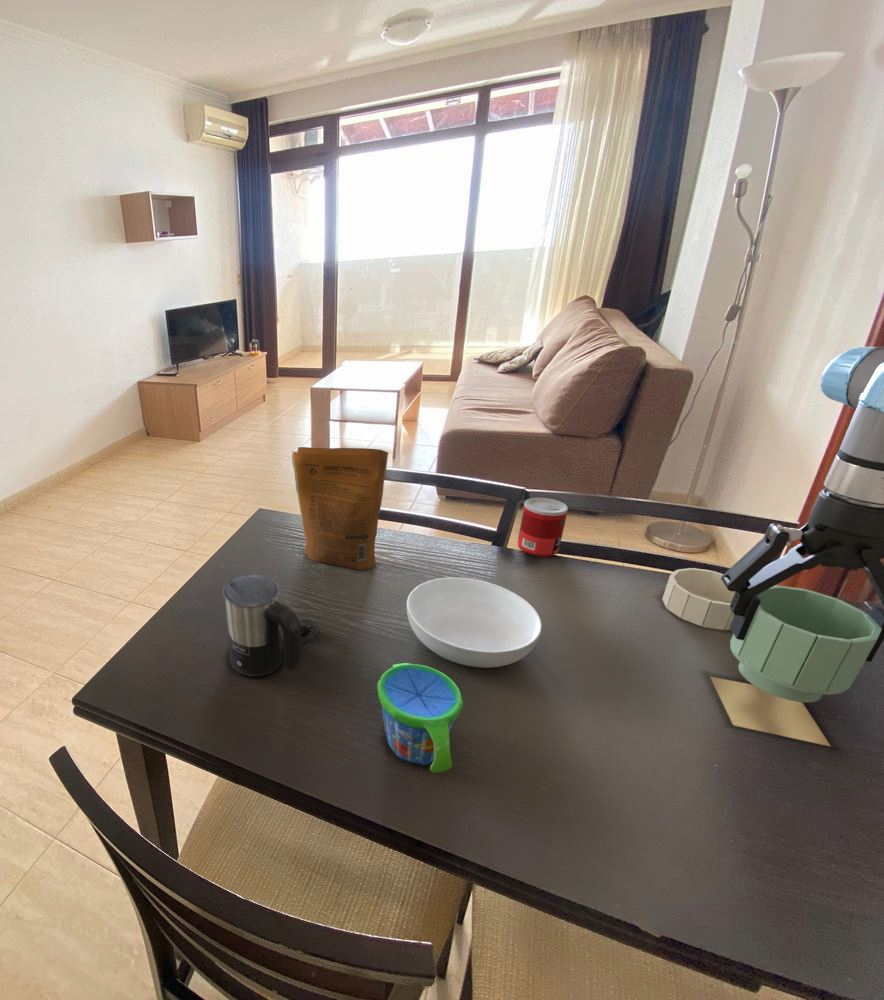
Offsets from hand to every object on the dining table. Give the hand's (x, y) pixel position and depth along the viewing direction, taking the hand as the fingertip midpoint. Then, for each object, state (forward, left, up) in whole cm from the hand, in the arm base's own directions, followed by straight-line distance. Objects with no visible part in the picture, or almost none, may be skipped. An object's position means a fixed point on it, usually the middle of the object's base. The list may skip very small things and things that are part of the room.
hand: (796, 643), depth 71 cm
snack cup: (+45, +23, -12) cm, 52 cm away
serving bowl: (+39, -2, -12) cm, 41 cm away
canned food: (+26, -39, -12) cm, 48 cm away
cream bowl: (+1, -24, -12) cm, 27 cm away
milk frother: (+70, +11, -12) cm, 72 cm away
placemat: (0, 0, -12) cm, 12 cm away
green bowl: (0, 0, -6) cm, 6 cm away
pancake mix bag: (+66, -21, -12) cm, 70 cm away
